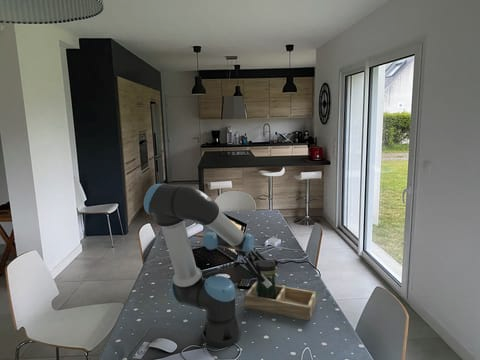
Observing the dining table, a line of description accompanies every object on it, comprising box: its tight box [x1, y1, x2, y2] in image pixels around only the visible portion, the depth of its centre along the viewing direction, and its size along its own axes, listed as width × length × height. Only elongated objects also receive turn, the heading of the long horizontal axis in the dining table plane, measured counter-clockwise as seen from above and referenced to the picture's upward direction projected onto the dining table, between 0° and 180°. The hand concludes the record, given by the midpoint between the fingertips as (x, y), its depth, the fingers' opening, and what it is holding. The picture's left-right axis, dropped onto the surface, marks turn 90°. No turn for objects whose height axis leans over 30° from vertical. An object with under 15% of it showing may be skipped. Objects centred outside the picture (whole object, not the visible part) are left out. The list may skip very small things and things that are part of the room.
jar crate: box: [244, 281, 317, 321], centre depth 164 cm, size 14×30×6 cm, turn 68°
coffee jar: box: [255, 259, 277, 300], centre depth 165 cm, size 10×8×19 cm
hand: (272, 281), depth 164 cm, fingers closed on coffee jar, 8 cm apart
